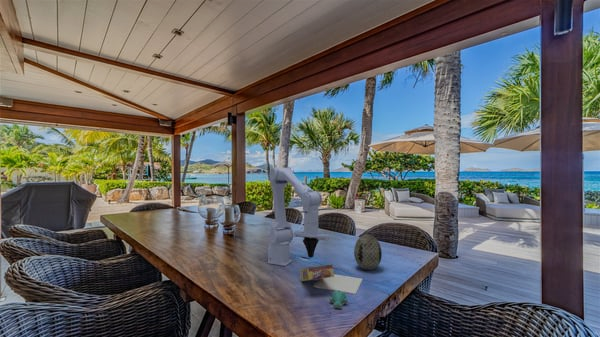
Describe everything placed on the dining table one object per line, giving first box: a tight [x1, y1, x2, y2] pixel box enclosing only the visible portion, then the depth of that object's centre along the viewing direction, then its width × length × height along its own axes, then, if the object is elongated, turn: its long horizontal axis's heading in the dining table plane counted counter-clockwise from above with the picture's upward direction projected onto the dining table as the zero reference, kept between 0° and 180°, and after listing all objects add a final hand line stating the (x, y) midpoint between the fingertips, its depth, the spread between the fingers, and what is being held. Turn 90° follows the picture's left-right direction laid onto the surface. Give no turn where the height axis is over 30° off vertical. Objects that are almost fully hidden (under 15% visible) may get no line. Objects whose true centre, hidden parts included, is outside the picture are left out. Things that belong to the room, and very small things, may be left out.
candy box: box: [299, 264, 335, 282], centre depth 98 cm, size 9×4×15 cm
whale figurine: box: [328, 290, 348, 309], centre depth 85 cm, size 6×7×4 cm
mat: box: [312, 273, 363, 295], centre depth 101 cm, size 16×14×1 cm
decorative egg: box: [353, 233, 383, 271], centre depth 117 cm, size 12×12×15 cm
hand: (310, 256), depth 106 cm, fingers closed
